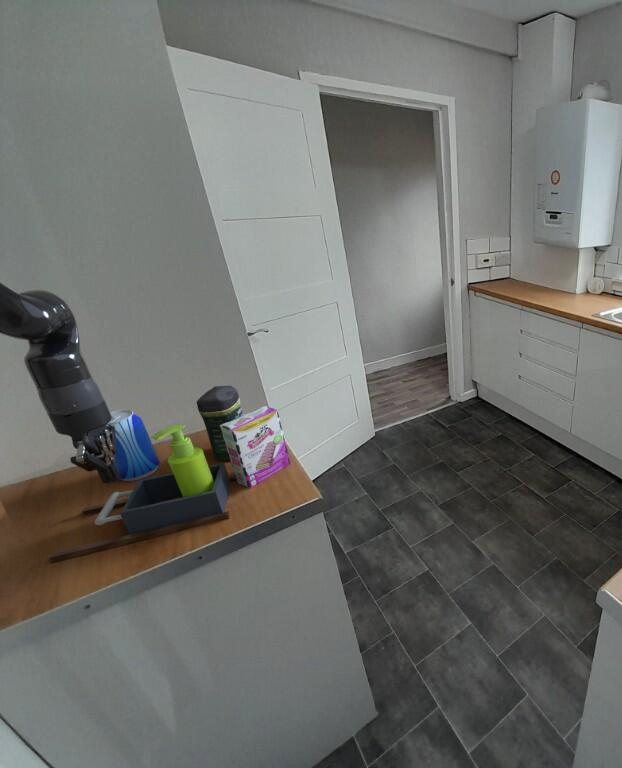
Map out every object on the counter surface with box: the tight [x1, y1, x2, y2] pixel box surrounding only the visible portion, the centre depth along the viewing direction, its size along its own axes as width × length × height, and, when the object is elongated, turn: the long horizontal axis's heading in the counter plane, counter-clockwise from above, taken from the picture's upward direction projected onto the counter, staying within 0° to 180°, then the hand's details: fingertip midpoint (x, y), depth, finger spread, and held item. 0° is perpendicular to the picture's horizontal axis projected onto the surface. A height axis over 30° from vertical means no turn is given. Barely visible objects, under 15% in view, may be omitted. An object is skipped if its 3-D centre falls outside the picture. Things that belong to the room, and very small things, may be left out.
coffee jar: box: [196, 385, 244, 463], centre depth 105 cm, size 10×8×19 cm
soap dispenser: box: [150, 423, 214, 498], centre depth 86 cm, size 6×7×20 cm
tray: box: [94, 462, 232, 535], centre depth 87 cm, size 20×12×6 cm, turn 115°
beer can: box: [106, 409, 161, 482], centre depth 97 cm, size 8×8×16 cm
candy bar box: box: [220, 405, 291, 490], centre depth 97 cm, size 11×5×16 cm, turn 154°
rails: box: [48, 475, 237, 563], centre depth 87 cm, size 28×15×1 cm, turn 115°
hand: (112, 480), depth 81 cm, fingers closed
